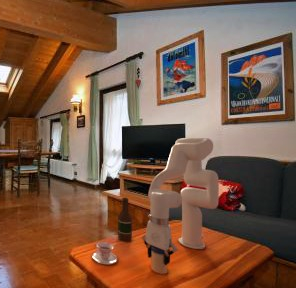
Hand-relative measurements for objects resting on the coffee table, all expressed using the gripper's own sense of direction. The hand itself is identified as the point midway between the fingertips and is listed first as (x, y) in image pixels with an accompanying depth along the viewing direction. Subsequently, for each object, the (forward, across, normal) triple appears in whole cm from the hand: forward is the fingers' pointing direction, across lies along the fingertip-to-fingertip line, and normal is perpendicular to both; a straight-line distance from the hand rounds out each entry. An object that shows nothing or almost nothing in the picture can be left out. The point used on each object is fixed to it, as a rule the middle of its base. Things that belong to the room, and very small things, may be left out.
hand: (158, 259), depth 96 cm
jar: (+4, 0, +1) cm, 5 cm away
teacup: (+5, -21, -11) cm, 24 cm away
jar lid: (-6, 0, +1) cm, 6 cm away
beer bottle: (+4, -27, +15) cm, 31 cm away
